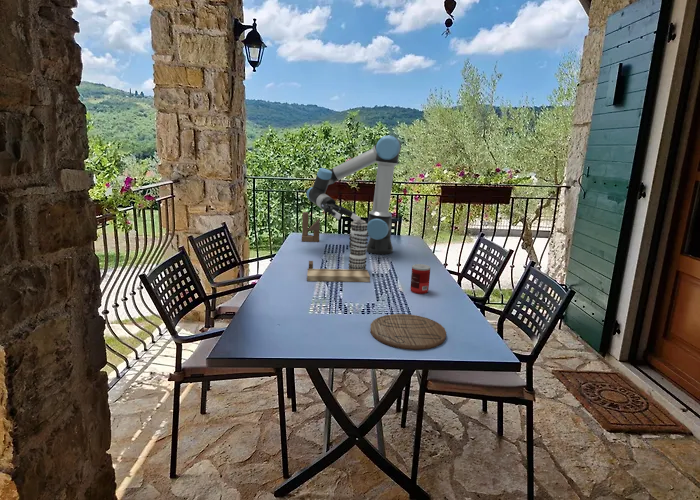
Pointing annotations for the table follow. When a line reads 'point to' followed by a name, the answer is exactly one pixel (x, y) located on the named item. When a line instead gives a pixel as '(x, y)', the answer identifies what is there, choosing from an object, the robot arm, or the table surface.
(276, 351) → the table surface
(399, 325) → the trivet
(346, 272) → the oak board
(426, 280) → the canned food
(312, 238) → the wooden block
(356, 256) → the decorative candle
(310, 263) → the brown flat block
